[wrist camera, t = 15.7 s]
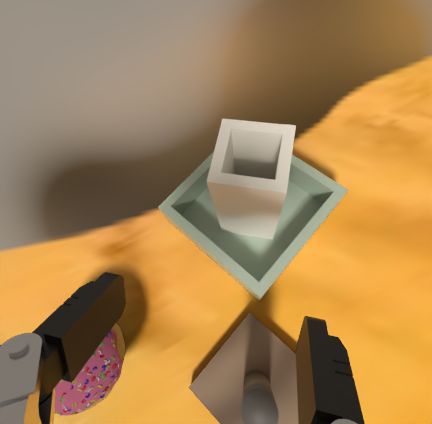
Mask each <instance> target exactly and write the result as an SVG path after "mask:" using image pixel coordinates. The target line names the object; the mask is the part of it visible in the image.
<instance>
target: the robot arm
mask: <svg viewBox="0 0 432 424" xmlns="http://www.w3.org/2000/svg"><path fill="white" fill-rule="evenodd" d="M125 304H126V300H125V289H124V279H123V276H121V275H117V274H112V273H108V272H105V273H103V274H102V275H101V276H100V277H99V278H98V279H97V280H96V281H95V282H93V281H91V282H89V283H87V284H85V285H83V286H82V287H80V288H79V289H78V290H77V291H76V292H75V293H73V294H72V295H71V297H70V298H68V299H67V300H66V301H65V302H64V304H63V305H61V306H60V307H59V308H58V309H57V310H56V311H54V312H53V313H52V314H51V315H50V316H49V317H48V318H47V319H46V320H45V321H44V322H43V323H42V324H41V325H40V326H39V327H38V328H37V329H36V330H34V331H33V332H32V333H24V334H20V335H17V336H14V337H12V338H10V339H9V340H7V341H6V342H4V343H3V344H2V345H0V424H53V421H54V408H55V396H56V389H55V387H56V386H57V384H58V383H59V382H60V380H64V381H67V382H71V383H72V382H73V380H74V379H75V378H76V376H77V375H78V374H79V372H80V371H81V370H82V368H83V367H84V366H85V364H86V363H87V361H88V360H89V359H90V357H91V356H92V355H93V353H94V352H95V351H96V349H97V348H98V346H99V345H100V344H101V342H102V341H103V340H104V338H105V337H106V336H107V334H108V333H109V331H110V330H111V329H112V327H113V326H114V325H115V323H116V322H117V321H118V319H119V318H120V317H121V315H122V313H123V311H124V308H125ZM296 375H297V399H298V423H299V424H365V423H364V420H363V415H362V411H361V407H360V403H359V399H358V395H357V391H356V386H355V382H354V378H353V374H352V370H351V366H350V362H349V357H348V353H347V350H346V348H345V347H344V345H343V344H342V342H341V341H340V339H339V338H338V337H334V336H330V335H328V331H327V326H326V322H325V320H322V319H317V318H313V317H308V316H305V317H304V320H303V324H302V328H301V331H300V335H299V339H298V342H297V348H296Z"/></svg>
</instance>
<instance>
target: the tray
mask: <svg viewBox="0 0 432 424" xmlns="http://www.w3.org/2000/svg"><path fill="white" fill-rule="evenodd" d="M213 154H214V152H213V153H212V154H211V155H210V156H209V157H208V158H207V159H206V160H205V161H204V162H203V163H202V164H201V165H200V166H199V167H198V168H197V169H196V170H195V171H194V172H193V173H192V174H191V175H190V176H189V177H188V178H187V179H186V180H185V181H184V182H183V183H182V184H181V185H180V186H179V187H178V188H177V189H176V190H175V191H174V192H173V193H172V194H171V195H170V196H169V197H168V198H167V199H166V200H165V201H164V202H163V203H162V204H161V205H160V206H159V207H158V208H159V209H160V210H161V212H162V213H163V214H164V215H165V217H166V218H167V219H168V220H169V221H170V222H171V223H172V224H173V225H174V226H175V227H176V228H177V229H179V230H180V231H181V232H182V233H183V234H184V235H185V236H186V237H188V238H189V239H190V240H191V241H192V242H193V243H194V244H195V245H197V246H198V247H199V248H200V249H201V250H202V251H203V252H204V253H206V254H207V255H208V256H209V257H210V258H211V259H212V260H213V261H215V262H216V263H217V264H218V265H219V266H220V267H221V268H222V269H224V270H225V271H226V272H227V273H228V274H229V275H230V276H231V277H233V278H234V279H235V280H236V281H237V282H238V283H239V284H240V285H242V286H243V287H244V288H245V289H246V290H247V291H248V292H249V293H251V294H252V295H253V296H254V297H255V298H256V299H257V300H258V301H260V299H261V298H262V297H263V296H264V294H265V293H266V292H267V291H268V289H269V288H270V287H271V286H272V284H273V283H274V282H275V281H276V280H277V278H278V277H279V276H280V275H281V273H282V272H283V271H284V270H285V268H286V267H287V266H288V265H289V264H290V262H291V261H292V260H293V259H294V257H295V256H296V255H297V254H298V252H299V251H300V250H301V249H302V247H303V246H304V245H305V244H306V243H307V241H308V240H309V239H310V238H311V236H312V235H313V234H314V233H315V231H316V230H317V229H318V228H319V227H320V225H321V224H322V223H323V222H324V220H325V219H326V218H327V217H328V215H329V214H330V213H331V212H332V210H333V209H334V208H335V207H336V205H337V204H338V203H339V202H340V200H341V199H342V198H343V196H344V195H345V194H346V193H347V191H348V189H346V188H344V187H343V186H341V185H340V184H338V183H337V182H335V181H333V180H332V179H330V178H329V177H327V176H326V175H324V174H322V173H321V172H319V171H318V170H316V169H315V168H313V167H311V166H310V165H308V164H307V163H305V162H303V161H302V160H300V159H299V158H297V157H296V156H294V155H292V158H291V165H290V172H289V180H288V187H287V194H286V197H285V200H284V204H283V207H282V210H281V214H280V217H279V220H278V224H277V227H276V230H275V234H274V237H273V239H267V238H261V237H255V236H250V235H244V234H238V233H232V232H226V231H222V230H221V227H220V224H219V220H218V217H217V214H216V211H215V207H214V204H213V201H212V198H211V195H210V191H209V188H208V185H207V178H208V174H209V170H210V166H211V162H212V158H213Z"/></svg>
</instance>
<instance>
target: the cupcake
mask: <svg viewBox="0 0 432 424" xmlns="http://www.w3.org/2000/svg"><path fill="white" fill-rule="evenodd" d="M124 355H125V343H124V339H123V334H122V331H121V328H120V327H119V325H118V324H117V323H115V325H114V326H113V327H112V329H111V330H110V331H109V333H108V334H107V336H106V337H105V338H104V340H103V341H102V342H101V344H100V345H99V346H98V348H97V349H96V351H95V352H94V353H93V355H92V356H91V357H90V359H89V360H88V361H87V363H86V364H85V366H84V367H83V368H82V370H81V371H80V372H79V374H78V375H77V376H76V378H75V379H74V380H73V382H72V383H71V382H67V381H64V380H60V382H59V383H58V384H57V386H56V387H55V389H56V396H55V408H54V413H55V414H56V413H57V414H59V415H60V416H62V415H72V414H77V413H80V412H83V411H86V410H88V409H90V408H92V407H93V406H95V405H97V404H98V403H99V402H101V401H102V400H104V399H105V398H106V397H107V396H108V394H109V393H110V391H111V390H112V388H113V386H114V385H115V383H116V382H117V380H118V379H119V377H120V374H121V369H122V364H123V360H124Z"/></svg>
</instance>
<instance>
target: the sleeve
mask: <svg viewBox="0 0 432 424" xmlns="http://www.w3.org/2000/svg"><path fill="white" fill-rule="evenodd" d="M295 128H296V126H295V125H284V124H274V123H263V122H253V121H243V120H233V119H222V123H221V126H220V130H219V134H218V138H217V142H216V146H215V150H214V154H213V158H212V162H211V166H210V170H209V174H208V178H207V185H208V188H209V191H210V195H211V198H212V201H213V204H214V207H215V211H216V214H217V217H218V220H219V224H220V227H221V230H222V231H226V232H232V233H238V234H244V235H250V236H255V237H261V238H267V239H273V237H274V234H275V230H276V227H277V224H278V220H279V217H280V214H281V210H282V207H283V204H284V200H285V197H286V194H287V187H288V180H289V172H290V165H291V158H292V150H293V143H294V135H295Z"/></svg>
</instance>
